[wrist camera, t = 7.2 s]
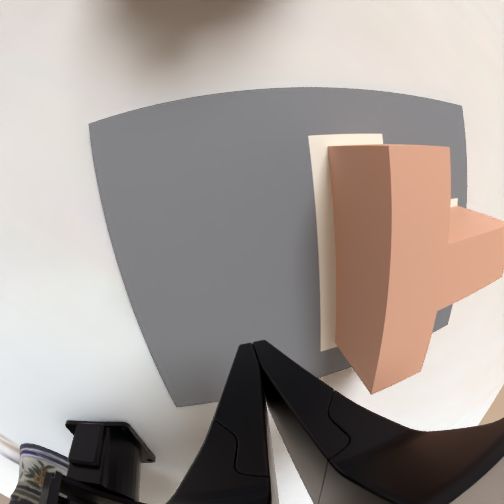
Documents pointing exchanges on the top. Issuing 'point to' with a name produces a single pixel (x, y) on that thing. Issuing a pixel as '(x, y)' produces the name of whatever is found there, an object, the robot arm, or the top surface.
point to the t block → (401, 254)
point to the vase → (36, 472)
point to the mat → (245, 218)
